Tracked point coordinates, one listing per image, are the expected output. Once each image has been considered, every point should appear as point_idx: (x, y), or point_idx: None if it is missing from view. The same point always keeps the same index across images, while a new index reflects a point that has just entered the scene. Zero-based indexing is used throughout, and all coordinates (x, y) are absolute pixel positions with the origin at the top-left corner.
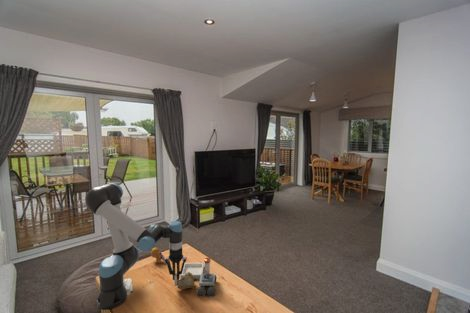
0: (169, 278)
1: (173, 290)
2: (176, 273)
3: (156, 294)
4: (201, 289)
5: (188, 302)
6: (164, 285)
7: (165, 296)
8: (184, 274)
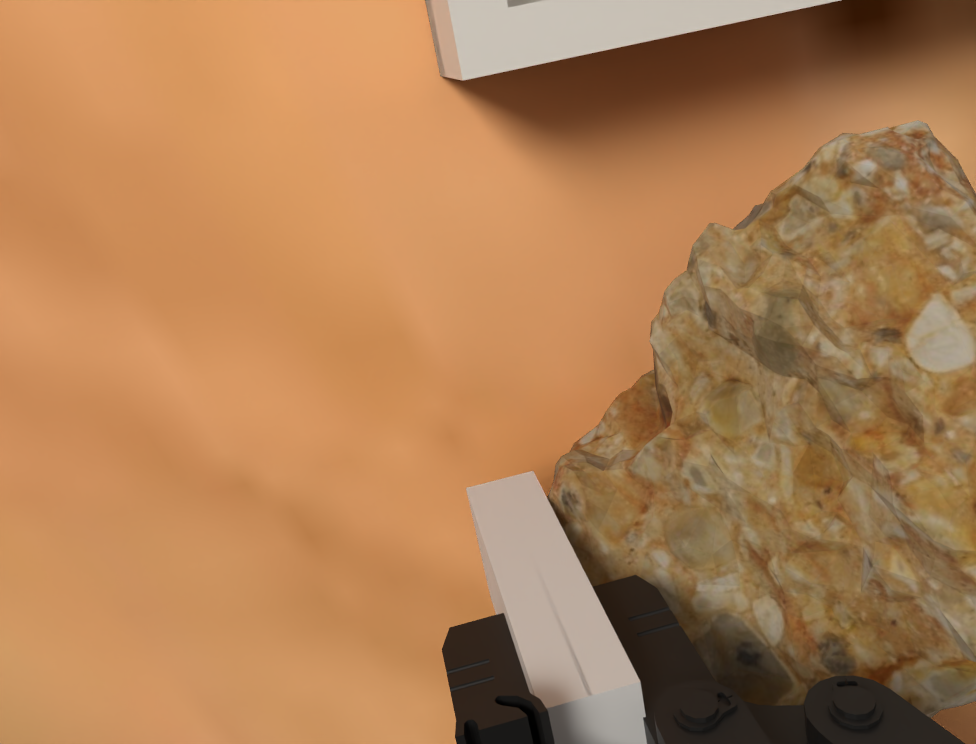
0: (48, 83)
1: (436, 521)
2: (592, 713)
3: (103, 723)
4: None
5: None
6: (97, 418)
7: (345, 714)
8: (593, 9)
